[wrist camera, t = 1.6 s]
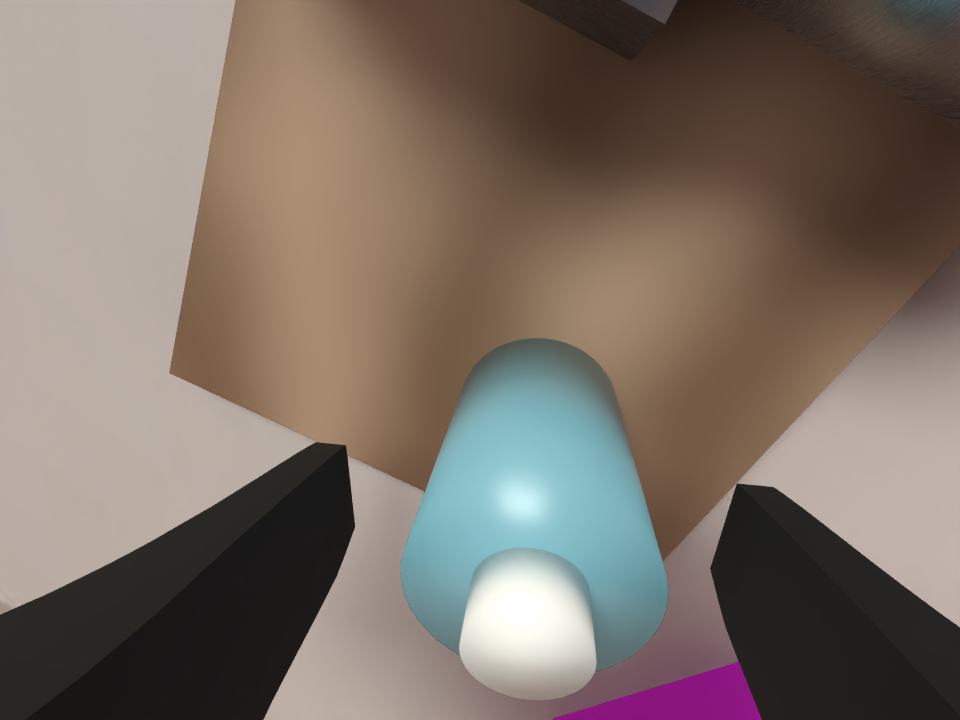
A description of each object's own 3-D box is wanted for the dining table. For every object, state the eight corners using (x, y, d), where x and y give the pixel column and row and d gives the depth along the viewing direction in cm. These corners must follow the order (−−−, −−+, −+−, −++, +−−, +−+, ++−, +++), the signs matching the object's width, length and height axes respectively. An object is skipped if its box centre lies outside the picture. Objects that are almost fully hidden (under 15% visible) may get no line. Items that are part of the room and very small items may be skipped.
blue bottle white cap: (649, 383, 11) (759, 633, 5) (566, 495, 13) (582, 779, 7) (501, 309, 11) (449, 489, 5) (437, 434, 13) (342, 676, 7)
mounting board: (1398, -307, 7) (1561, -394, 6) (629, 557, 15) (636, 589, 14) (467, -944, 6) (448, -1198, 5) (198, 356, 14) (169, 373, 13)
